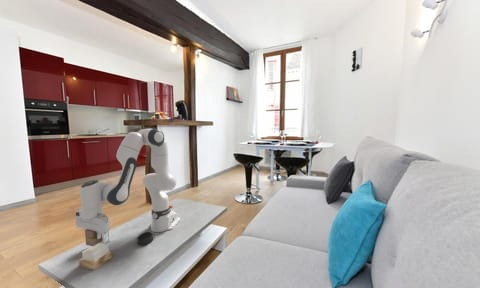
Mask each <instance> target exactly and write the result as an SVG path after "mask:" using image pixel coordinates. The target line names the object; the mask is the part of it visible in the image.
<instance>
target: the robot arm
mask: <svg viewBox="0 0 480 288" xmlns="http://www.w3.org/2000/svg"><path fill="white" fill-rule="evenodd" d="M143 146H149V147H150V149H151V150H150V151H151V152H150V166H151V168H152V169H153V170H154V172H153V173H147V174H145V175H144V176H143V179H142V184H143V186H144V187H145V188H146V190H147V191H148V193H149V195H150V198H151V200H150V201H151V208H152V209H151V219H150V220H151V221H150V232H152V233H162V232H165V231H170V230H173V229H174V228H175V227H176V225H177V224H178V223H179V222H180V221H181V217H180V216H178V214H177V212H175V210H172V209H173V207H174V206H173V205H171V204H170V202H169V201H170V200H169V196H168V194H167V193H166V192H168V191H173V190H174V189H175V187H176V186H177V179H176V177H175V176H174V175H173V174H172V171H171V169H170V166H169V148H168V142H167V141H166V139H165V134H164V132H163V131H162V130H161V129H158V128H140V129H138V130H136V132H135V131H130V132H128V133H127V134H126V136H125V137H124V138H123V140H122V141H121V143H120V145H119V147H118V149H117V151H116V155H115V157H116V159H117V161H118V162H119V163H120V164H121V166H122V168H121V173H120V175H119V179H118V181H117V182H116V183H113V182H104V181H103V182H102V181H100V180H97V179H94V180H88V181H86V182H84V183H83V184H82V185H81V186H80V189H79V201H80V203H81V207H80V209H79V210H77V211H74V216H75V223H76V224H75V225H76V227H77V228H80V229H83V230H84V231H85V230H86V229H88V230H92V231H96V232H97V233H98V234H97V235H96V239H100V238H101V234H102V233H105V232H107V231H108V232H109V231H110V230H111V222H110V218H109V217H108V216H107V215H106V214H105V213H104V211H103V203H104V202H108V203H109V204H111V205H113V206H119V205H122V204H124V203H125V202H126V201H127V200H128V199H129V196H130V191H131V189H130V188H131V184H132V181H133V179H134V178H133V177H134V175H135V172H136V169H137V161H138V160H137V159H138V157H139V154H140V151H141V149H142V147H143ZM165 191H166V192H165ZM169 204H170V205H169Z"/></svg>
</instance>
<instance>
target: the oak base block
mask: <svg viewBox="0 0 480 288" xmlns="http://www.w3.org/2000/svg"><path fill="white" fill-rule="evenodd" d="M110 259H112V251H111V250H109V252H108V253H106V254H105V255H104V256H102V257H101V258H100V259H98V260H97V261H95V262H94V261H89V260H84V259H83V257H81V258H79V259H78V264H79V265H78V266H79V267H80V268H83V269H87V270H89V271H90V270H91V271H95V270H97V269H98V268H99V267H101V266H102V265H103V264H105V263H106V262H108V261H109V260H110Z"/></svg>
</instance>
